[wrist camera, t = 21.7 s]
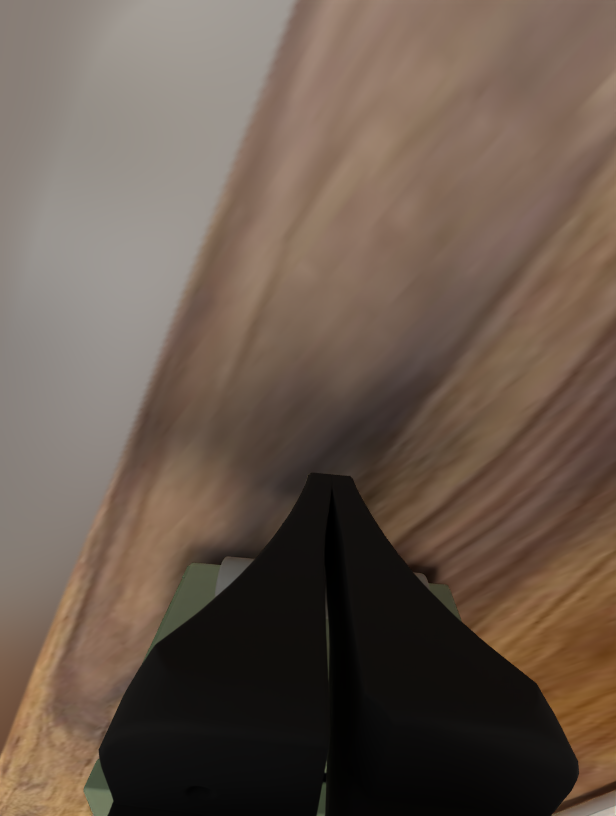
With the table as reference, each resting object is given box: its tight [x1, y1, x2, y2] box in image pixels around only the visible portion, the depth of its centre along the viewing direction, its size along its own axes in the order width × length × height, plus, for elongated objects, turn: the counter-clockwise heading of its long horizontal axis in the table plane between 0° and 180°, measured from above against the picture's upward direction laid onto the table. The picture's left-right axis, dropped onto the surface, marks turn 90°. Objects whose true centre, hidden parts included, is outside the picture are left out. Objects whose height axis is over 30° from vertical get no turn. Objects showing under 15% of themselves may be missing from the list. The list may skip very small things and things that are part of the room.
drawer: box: [153, 556, 461, 773], centre depth 14 cm, size 17×11×6 cm
